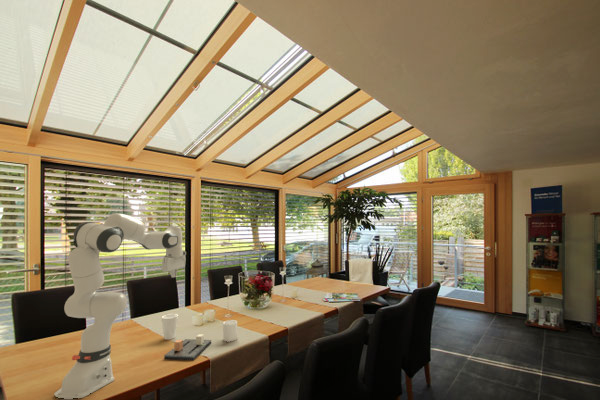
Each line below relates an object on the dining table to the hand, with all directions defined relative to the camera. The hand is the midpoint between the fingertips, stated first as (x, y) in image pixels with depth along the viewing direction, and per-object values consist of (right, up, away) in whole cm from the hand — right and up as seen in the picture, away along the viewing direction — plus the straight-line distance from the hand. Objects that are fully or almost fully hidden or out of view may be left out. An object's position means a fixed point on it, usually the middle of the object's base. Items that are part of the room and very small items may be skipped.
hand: (173, 277), depth 179 cm
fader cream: (+17, -37, -6) cm, 41 cm away
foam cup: (-7, -40, +10) cm, 42 cm away
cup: (+31, -39, +7) cm, 51 cm away
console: (+13, -38, -10) cm, 42 cm away
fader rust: (+8, -37, -14) cm, 40 cm away
